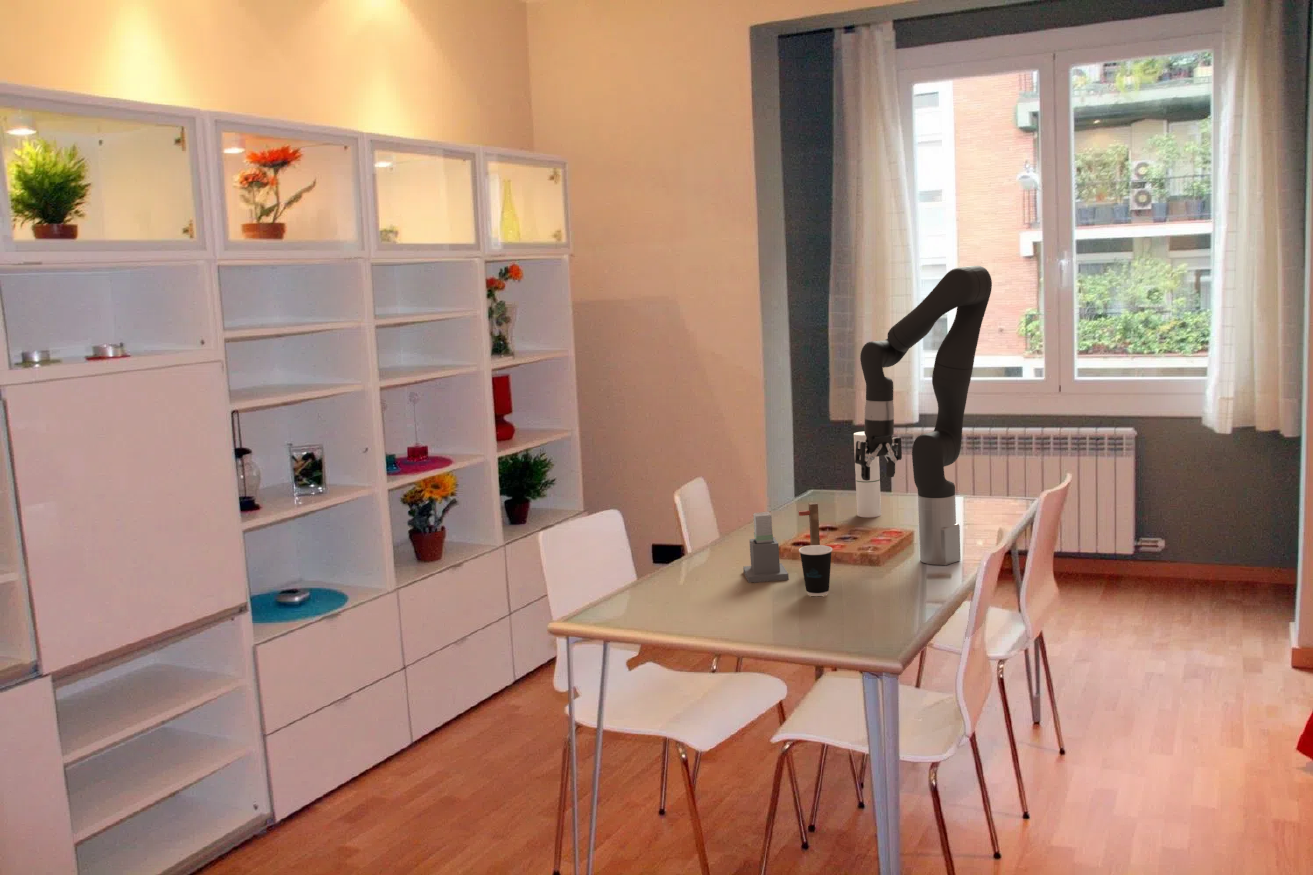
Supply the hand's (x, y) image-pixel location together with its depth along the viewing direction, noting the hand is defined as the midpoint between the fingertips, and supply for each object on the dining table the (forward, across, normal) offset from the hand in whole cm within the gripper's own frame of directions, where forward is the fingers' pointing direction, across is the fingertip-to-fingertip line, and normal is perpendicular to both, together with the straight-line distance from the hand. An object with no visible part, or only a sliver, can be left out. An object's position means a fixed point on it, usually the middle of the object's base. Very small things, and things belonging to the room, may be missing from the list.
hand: (878, 478), depth 302 cm
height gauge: (+21, -23, -2) cm, 31 cm away
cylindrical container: (+20, +28, +34) cm, 48 cm away
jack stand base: (+22, -34, +4) cm, 41 cm away
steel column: (+20, -34, +4) cm, 40 cm away
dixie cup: (+22, -35, -17) cm, 45 cm away
